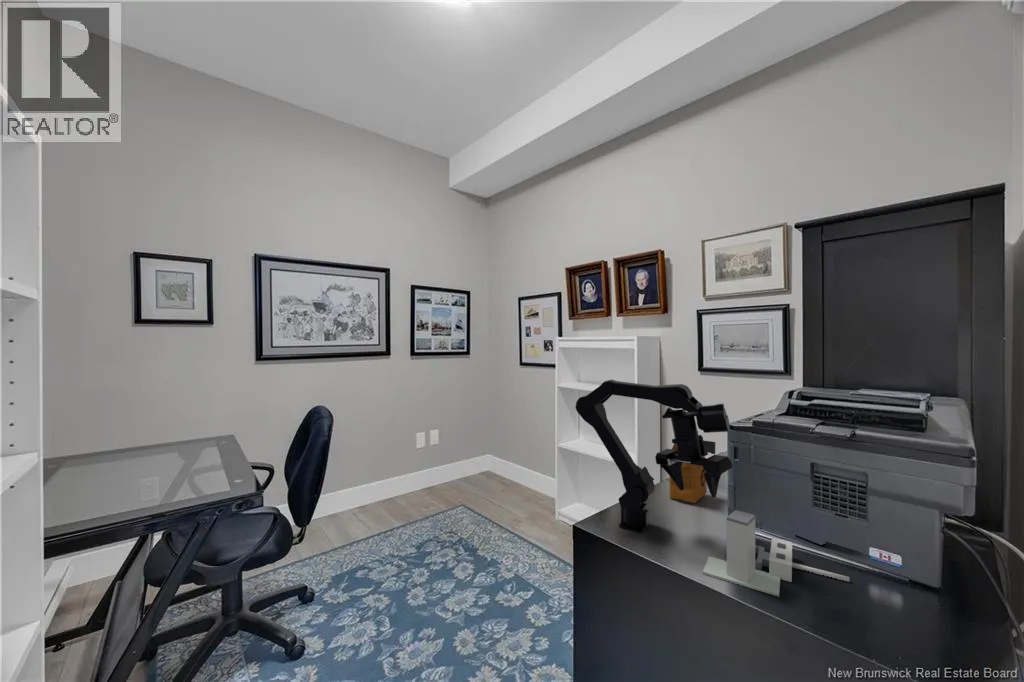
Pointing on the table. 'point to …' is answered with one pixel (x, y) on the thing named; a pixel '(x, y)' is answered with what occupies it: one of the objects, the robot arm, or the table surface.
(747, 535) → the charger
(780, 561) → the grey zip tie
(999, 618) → the table surface
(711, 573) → the sage mat
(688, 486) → the coffee package
